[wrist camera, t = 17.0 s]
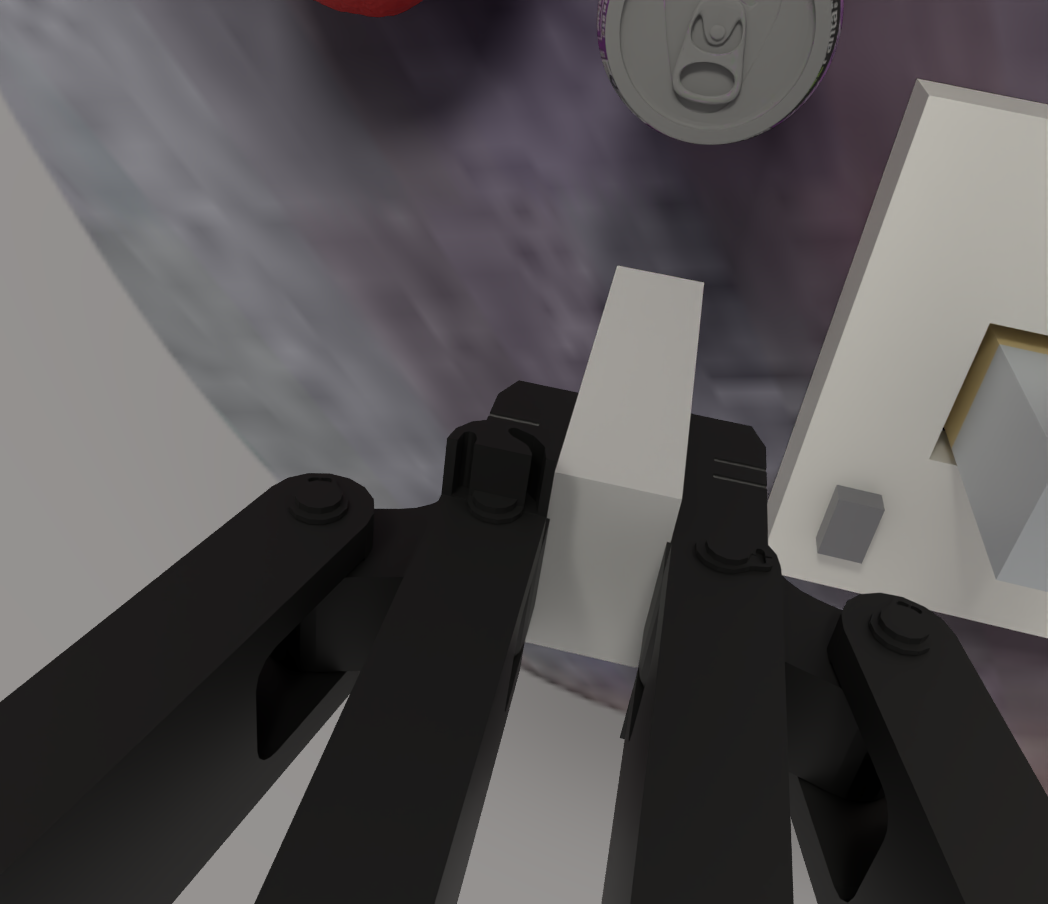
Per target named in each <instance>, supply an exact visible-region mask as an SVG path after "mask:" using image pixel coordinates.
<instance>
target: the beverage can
mask: <svg viewBox="0 0 1048 904" xmlns="http://www.w3.org/2000/svg"><path fill="white" fill-rule="evenodd" d="M843 9H844V0H599V3H598V12H597V36H598V44H599V49H600V54H601V58H602V62H603V65H604V68H605V70H606V73H607V75H608V78H609V80H610V82H611V84H612V86H613V88H614V89H615V91H616V92H617V94H618V96H619V97H620V98H621V100H622V101H623V102H624V104H625V105H626V106H627V107H628V108H629V109H630V110H631V111H632V112H633V113H634V114H635V115H636V116H637V117H638V118H639V119H640V120H642V121H643V122H644V123H645V124H647V125H648V126H650V127H651V128H653V129H655V130H656V131H658V132H660V133H662V134H664V135H666V136H669V137H671V138H674V139H677V140H680V141H684V142H688V143H693V144H702V145H720V144H729V143H734V142H739V141H743V140H746V139H749V138H752V137H755V136H758V135H760V134H762V133H764V132H766V131H768V130H770V129H772V128H774V127H775V126H777V125H778V124H780V123H782V122H783V121H784V120H786V119H787V118H788V117H790V116H791V115H792V114H793V113H794V112H796V111H797V110H798V109H799V108H800V107H801V106H802V105H803V104H804V103H805V102H806V101H807V99H808V98H809V97H810V96H811V95H812V93H813V92H814V91H815V89H816V88H817V87H818V85H819V84H820V82H821V81H822V79H823V77H824V76H825V74H826V72H827V70H828V68H829V66H830V64H831V62H832V59H833V57H834V54H835V52H836V48H837V45H838V42H839V38H840V33H841V28H842V21H843Z"/></svg>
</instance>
